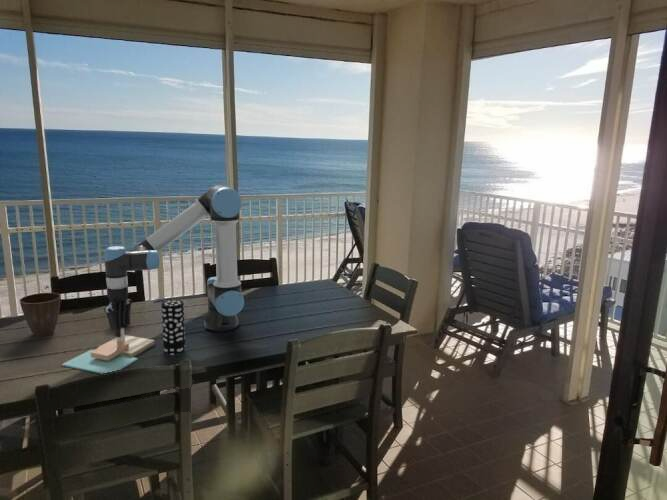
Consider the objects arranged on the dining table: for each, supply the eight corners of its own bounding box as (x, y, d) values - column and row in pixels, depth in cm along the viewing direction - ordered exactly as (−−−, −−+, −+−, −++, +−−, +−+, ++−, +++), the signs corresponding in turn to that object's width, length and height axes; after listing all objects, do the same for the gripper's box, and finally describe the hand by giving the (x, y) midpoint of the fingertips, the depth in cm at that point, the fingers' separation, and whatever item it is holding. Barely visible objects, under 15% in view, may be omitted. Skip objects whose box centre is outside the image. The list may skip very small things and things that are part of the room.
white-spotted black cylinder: (166, 346, 196) (164, 299, 192) (187, 346, 197) (185, 299, 193) (161, 355, 188) (158, 306, 184) (182, 354, 189) (181, 306, 184)
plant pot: (27, 329, 210) (23, 294, 206) (65, 325, 215) (62, 291, 212) (20, 342, 196) (16, 305, 193) (62, 337, 202) (58, 301, 199)
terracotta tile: (129, 348, 188) (128, 343, 188) (108, 360, 178) (107, 355, 178) (112, 344, 191) (111, 340, 190) (91, 357, 181) (90, 352, 180)
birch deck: (154, 344, 197) (154, 340, 197) (131, 358, 184) (130, 353, 184) (122, 339, 202) (122, 334, 202) (97, 352, 189) (97, 347, 189)
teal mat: (137, 359, 184) (137, 358, 183) (110, 375, 170) (110, 374, 170) (91, 350, 190) (91, 349, 190) (62, 365, 177) (61, 364, 177)
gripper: (121, 281, 192) (125, 336, 197) (96, 289, 180) (100, 348, 185) (137, 283, 190) (140, 339, 195) (112, 292, 178) (116, 351, 183)
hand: (121, 343), depth 190 cm, fingers closed
